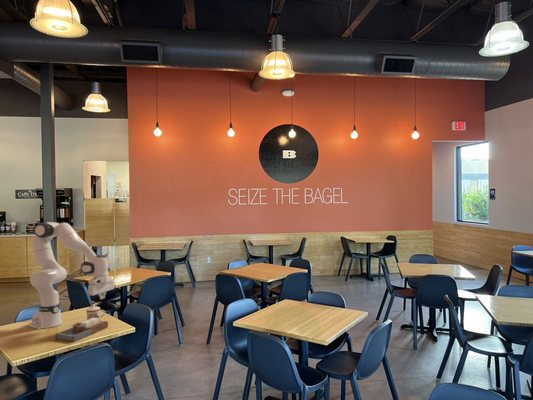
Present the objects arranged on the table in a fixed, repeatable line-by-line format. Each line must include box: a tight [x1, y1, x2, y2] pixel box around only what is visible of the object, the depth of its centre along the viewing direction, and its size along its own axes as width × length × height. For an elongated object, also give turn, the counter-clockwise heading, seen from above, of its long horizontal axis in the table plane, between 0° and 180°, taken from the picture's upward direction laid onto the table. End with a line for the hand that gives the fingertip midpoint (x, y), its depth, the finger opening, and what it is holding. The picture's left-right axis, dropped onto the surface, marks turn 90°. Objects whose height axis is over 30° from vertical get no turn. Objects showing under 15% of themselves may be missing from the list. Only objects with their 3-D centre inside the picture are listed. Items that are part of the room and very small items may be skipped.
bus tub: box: [55, 326, 91, 343], centre depth 233 cm, size 15×13×4 cm
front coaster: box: [79, 319, 93, 327], centre depth 243 cm, size 5×5×2 cm
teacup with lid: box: [86, 304, 106, 321], centre depth 264 cm, size 12×9×12 cm
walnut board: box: [73, 320, 109, 336], centre depth 246 cm, size 15×14×4 cm
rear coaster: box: [89, 318, 99, 324], centre depth 248 cm, size 5×5×2 cm
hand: (102, 298), depth 255 cm, fingers closed
